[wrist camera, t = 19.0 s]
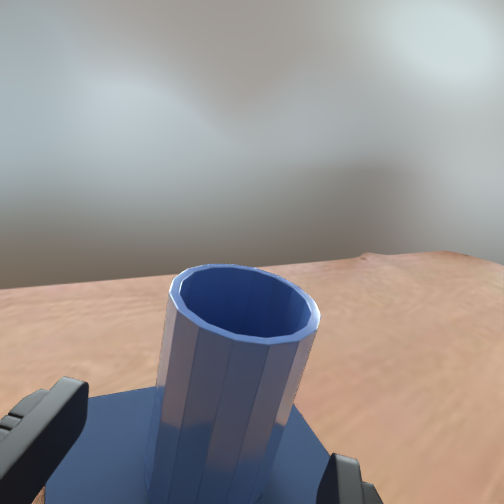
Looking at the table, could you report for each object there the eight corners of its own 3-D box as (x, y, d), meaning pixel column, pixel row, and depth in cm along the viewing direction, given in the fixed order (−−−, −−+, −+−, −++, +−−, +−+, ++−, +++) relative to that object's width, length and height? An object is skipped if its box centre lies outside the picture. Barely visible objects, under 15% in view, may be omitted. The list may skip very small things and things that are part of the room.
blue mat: (38, 742, 10) (37, 737, 10) (47, 410, 19) (47, 404, 19) (386, 545, 17) (389, 539, 16) (266, 370, 26) (267, 366, 26)
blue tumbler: (159, 560, 14) (199, 354, 10) (134, 434, 19) (154, 263, 15) (286, 508, 17) (351, 333, 13) (236, 411, 22) (273, 263, 18)
